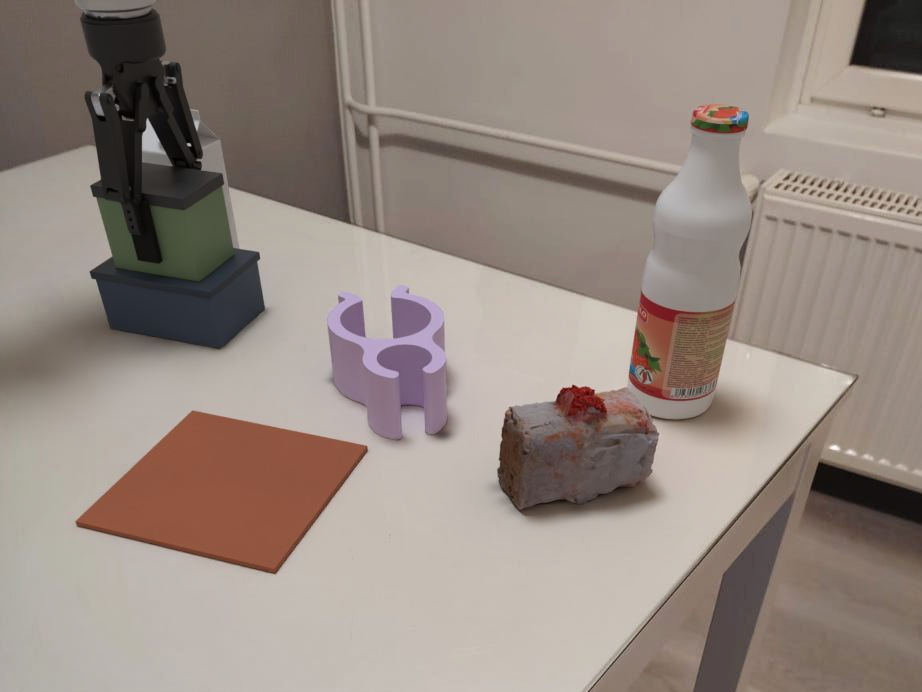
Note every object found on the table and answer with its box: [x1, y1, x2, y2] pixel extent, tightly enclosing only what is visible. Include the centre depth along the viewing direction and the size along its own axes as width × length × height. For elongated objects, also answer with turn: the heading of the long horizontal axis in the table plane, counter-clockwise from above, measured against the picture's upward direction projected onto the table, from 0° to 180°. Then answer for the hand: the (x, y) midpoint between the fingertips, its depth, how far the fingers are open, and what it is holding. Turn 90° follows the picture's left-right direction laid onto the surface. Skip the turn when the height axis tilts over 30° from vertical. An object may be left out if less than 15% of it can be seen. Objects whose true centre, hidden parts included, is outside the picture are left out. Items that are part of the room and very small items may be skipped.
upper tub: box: [89, 162, 234, 282], centre depth 102 cm, size 11×8×9 cm
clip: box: [326, 284, 448, 441], centre depth 96 cm, size 20×12×7 cm, turn 16°
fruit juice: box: [626, 103, 753, 420], centre depth 88 cm, size 9×9×28 cm
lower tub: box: [89, 248, 266, 349], centre depth 107 cm, size 16×12×7 cm
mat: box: [74, 410, 369, 574], centre depth 86 cm, size 20×20×1 cm
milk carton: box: [142, 108, 241, 249], centre depth 114 cm, size 7×7×19 cm
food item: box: [496, 384, 660, 511], centre depth 83 cm, size 14×8×10 cm, turn 110°
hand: (172, 245), depth 103 cm, fingers closed on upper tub, 8 cm apart
